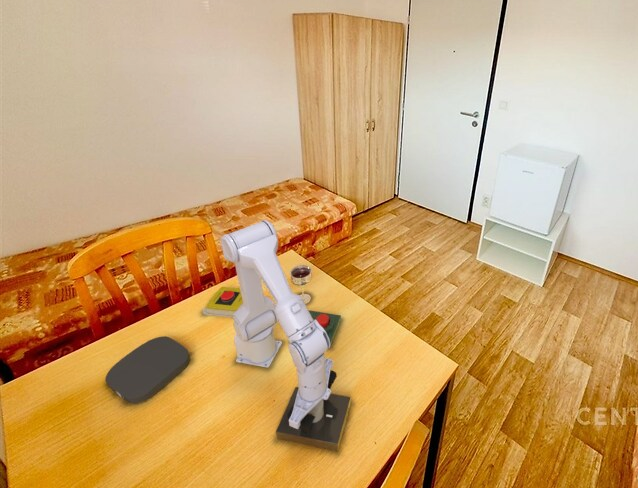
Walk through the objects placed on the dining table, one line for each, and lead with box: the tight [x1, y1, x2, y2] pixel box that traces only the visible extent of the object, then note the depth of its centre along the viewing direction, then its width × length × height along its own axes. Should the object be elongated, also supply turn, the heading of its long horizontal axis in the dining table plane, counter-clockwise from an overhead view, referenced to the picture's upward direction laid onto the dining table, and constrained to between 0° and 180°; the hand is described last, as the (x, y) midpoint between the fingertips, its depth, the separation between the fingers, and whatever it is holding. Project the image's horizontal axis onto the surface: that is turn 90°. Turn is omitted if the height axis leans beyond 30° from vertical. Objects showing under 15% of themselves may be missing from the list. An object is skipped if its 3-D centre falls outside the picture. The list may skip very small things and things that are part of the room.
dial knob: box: [308, 399, 324, 423], centre depth 72 cm, size 4×4×4 cm
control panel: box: [275, 386, 352, 452], centre depth 73 cm, size 14×10×3 cm
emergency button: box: [202, 286, 243, 318], centre depth 102 cm, size 9×4×15 cm
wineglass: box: [289, 264, 313, 305], centre depth 105 cm, size 7×7×12 cm
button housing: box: [308, 309, 342, 349], centre depth 96 cm, size 12×10×4 cm
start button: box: [316, 314, 329, 328], centre depth 94 cm, size 4×4×2 cm
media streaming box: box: [105, 336, 191, 405], centre depth 81 cm, size 15×15×3 cm
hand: (315, 412), depth 73 cm, fingers open, 7 cm apart
